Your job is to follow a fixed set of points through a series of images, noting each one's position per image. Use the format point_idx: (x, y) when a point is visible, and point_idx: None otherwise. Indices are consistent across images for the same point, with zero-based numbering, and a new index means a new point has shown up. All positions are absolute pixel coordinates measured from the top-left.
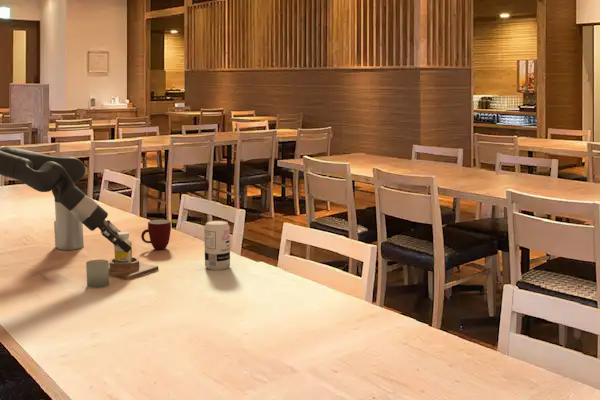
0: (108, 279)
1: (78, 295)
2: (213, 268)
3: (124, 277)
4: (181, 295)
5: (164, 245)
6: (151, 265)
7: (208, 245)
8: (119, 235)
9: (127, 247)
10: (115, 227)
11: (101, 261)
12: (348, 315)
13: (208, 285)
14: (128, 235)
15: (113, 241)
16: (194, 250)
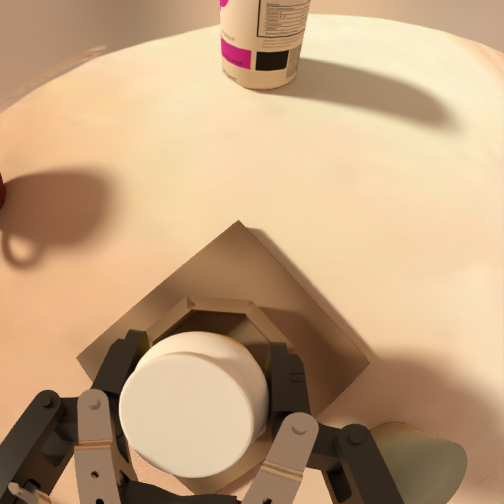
0: (409, 426)
1: None
2: (292, 78)
3: (358, 373)
4: (490, 208)
5: (2, 181)
6: (215, 246)
7: (292, 27)
8: (245, 451)
9: (302, 369)
10: (101, 486)
11: (426, 474)
12: (492, 66)
13: (425, 131)
14: (218, 361)
15: (337, 479)
16: (57, 112)
